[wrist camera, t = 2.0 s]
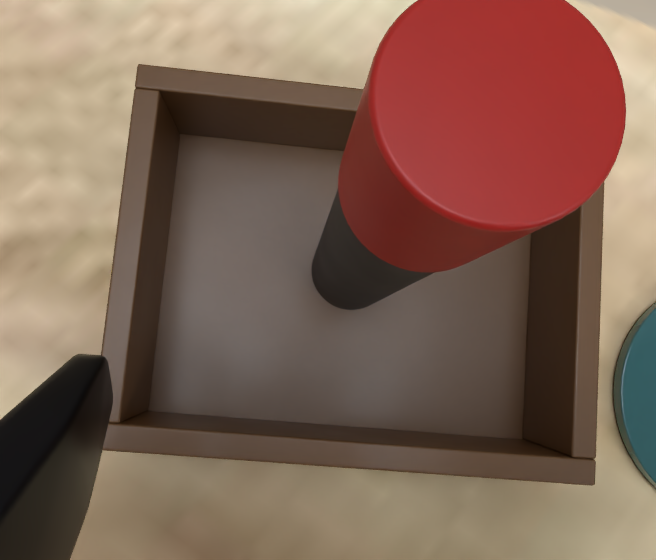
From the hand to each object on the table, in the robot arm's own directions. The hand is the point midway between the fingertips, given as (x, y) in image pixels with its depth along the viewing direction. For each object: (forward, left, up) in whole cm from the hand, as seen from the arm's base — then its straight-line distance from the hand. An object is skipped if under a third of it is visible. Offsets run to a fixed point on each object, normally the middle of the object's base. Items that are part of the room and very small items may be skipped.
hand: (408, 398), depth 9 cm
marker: (+3, -1, -11) cm, 11 cm away
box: (+3, -1, -11) cm, 11 cm away
